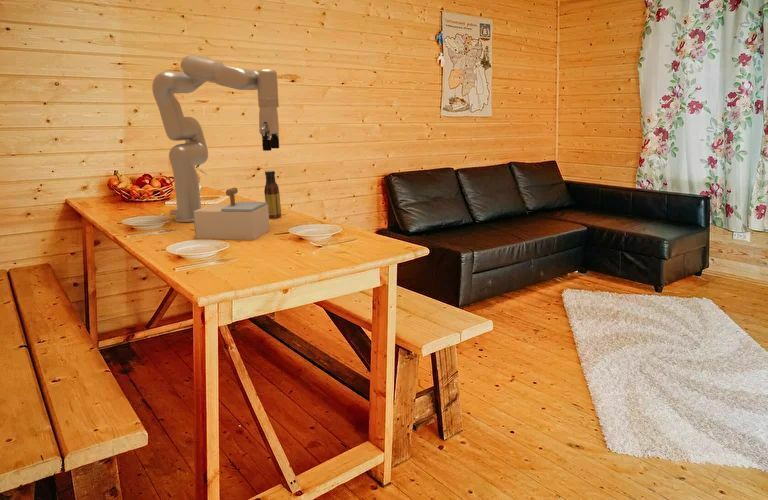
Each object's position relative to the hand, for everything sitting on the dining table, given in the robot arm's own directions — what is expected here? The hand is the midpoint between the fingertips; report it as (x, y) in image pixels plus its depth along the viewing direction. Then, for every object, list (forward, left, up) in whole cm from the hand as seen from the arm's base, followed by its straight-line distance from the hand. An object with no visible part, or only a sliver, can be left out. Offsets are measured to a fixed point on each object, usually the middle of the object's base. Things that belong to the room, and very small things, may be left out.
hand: (271, 149), depth 220 cm
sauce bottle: (-6, +15, -30) cm, 34 cm away
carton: (-10, -17, -30) cm, 36 cm away
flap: (-5, -17, -20) cm, 26 cm away
